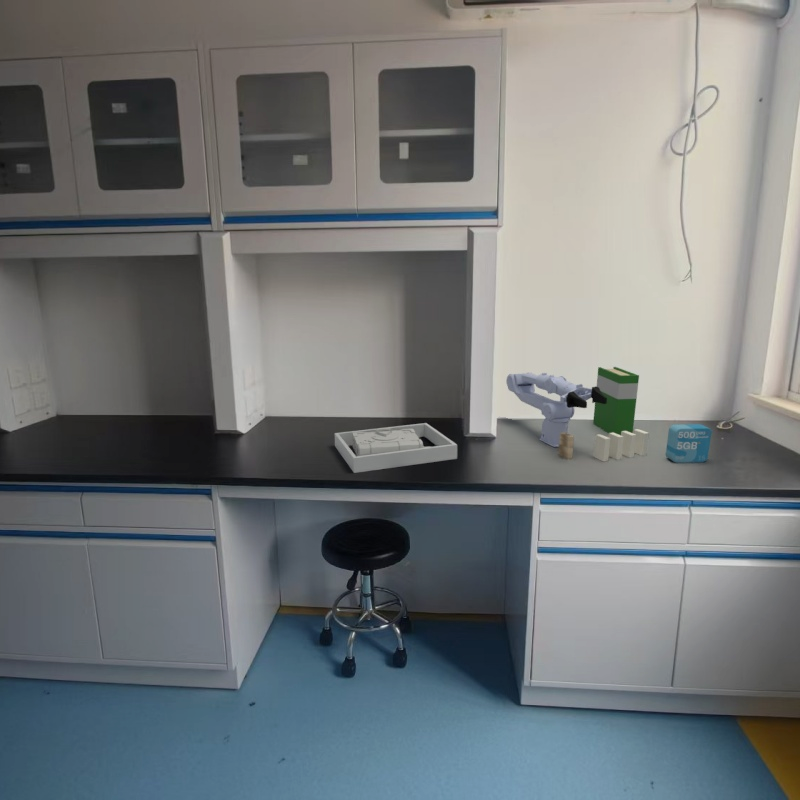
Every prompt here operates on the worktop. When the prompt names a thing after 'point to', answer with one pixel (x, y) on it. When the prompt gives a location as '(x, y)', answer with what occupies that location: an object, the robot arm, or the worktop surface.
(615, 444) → the domino
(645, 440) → the domino
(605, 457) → the domino
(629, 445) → the domino
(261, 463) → the worktop surface
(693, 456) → the data package
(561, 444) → the domino
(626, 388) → the hardback book
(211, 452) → the worktop surface
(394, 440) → the grey case
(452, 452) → the tray
